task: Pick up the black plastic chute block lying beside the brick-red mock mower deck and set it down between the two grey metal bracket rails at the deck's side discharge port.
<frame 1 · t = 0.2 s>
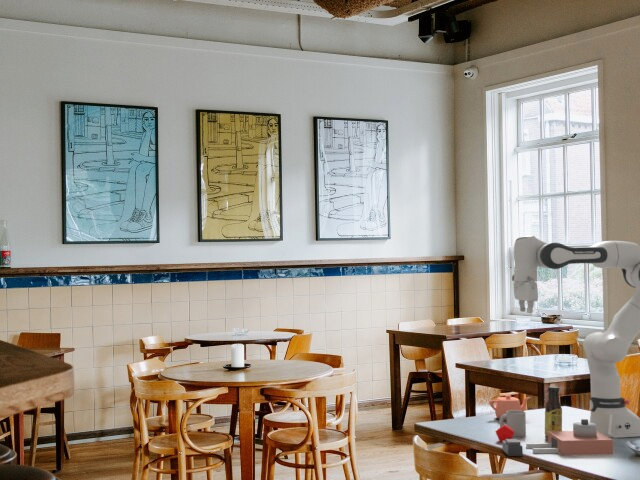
hand: (526, 312, 320), 48 cm above the table, fingers open, 8 cm apart
deck: (579, 449, 292), on the table
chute: (512, 453, 289), on the table
teapot: (510, 419, 351), on the table
sauce bottle: (553, 440, 309), on the table
cup: (512, 435, 319), on the table
red pentagonal block: (505, 442, 307), on the table
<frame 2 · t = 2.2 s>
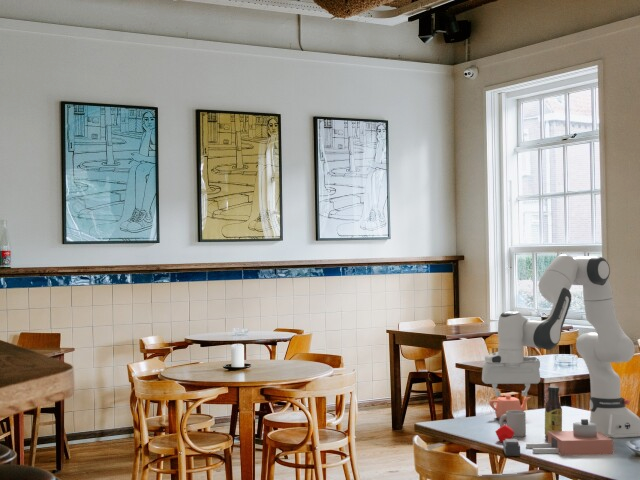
hand: (511, 396, 289), 20 cm above the table, fingers open, 8 cm apart
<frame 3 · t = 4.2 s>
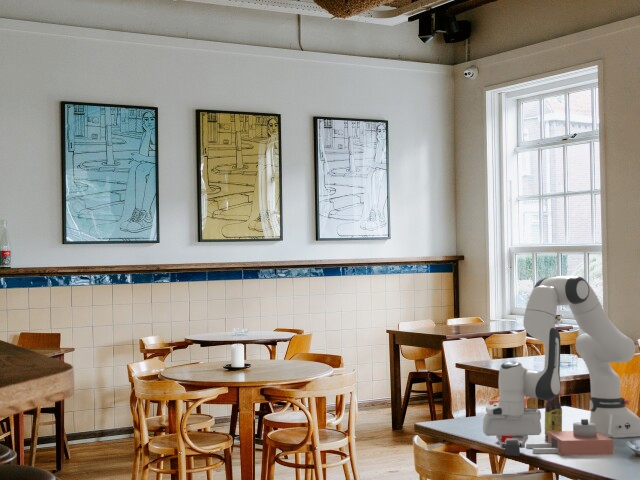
hand: (512, 447, 289), 2 cm above the table, fingers closed on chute, 6 cm apart
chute: (512, 452, 289), on the table, touching gripper
everything else where it was.
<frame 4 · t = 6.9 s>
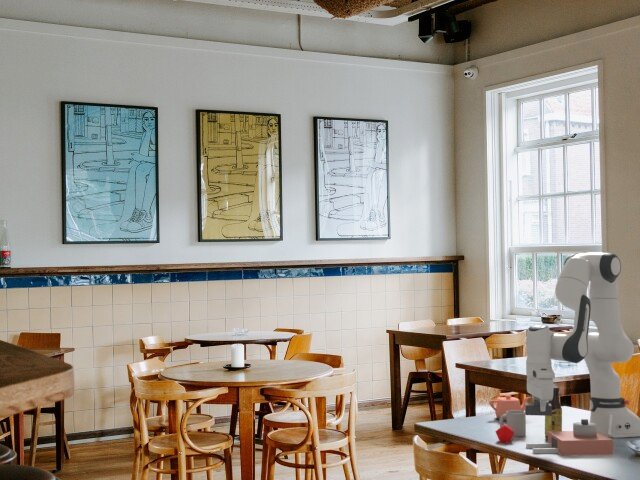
hand: (539, 409, 292), 14 cm above the table, fingers closed on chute, 5 cm apart
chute: (538, 414, 292), point 13 cm above the table, touching gripper
everything else where it was.
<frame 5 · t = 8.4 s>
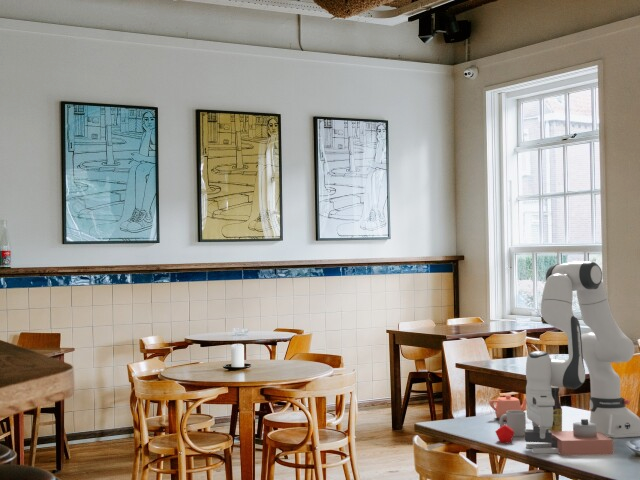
hand: (539, 436, 292), 5 cm above the table, fingers closed on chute, 5 cm apart
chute: (537, 440, 292), point 3 cm above the table, touching gripper
everything else where it was.
when the fingers open (3 cm above the table, at t = 9.4 s): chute drops 1 cm, on the table.
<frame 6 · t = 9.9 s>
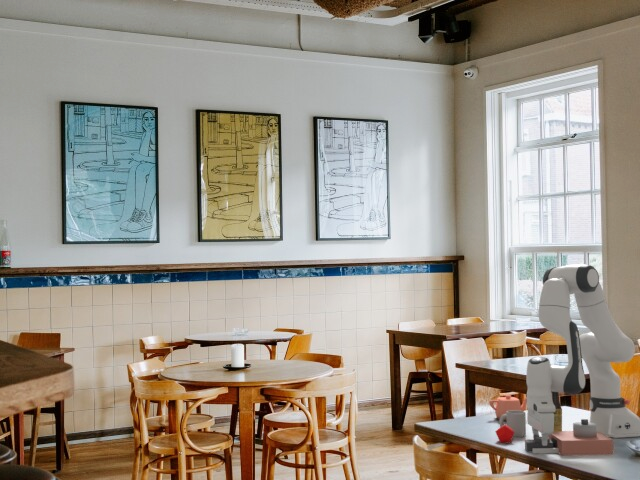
hand: (540, 442, 292), 3 cm above the table, fingers open, 8 cm apart
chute: (538, 450, 292), on the table
everything else where it was.
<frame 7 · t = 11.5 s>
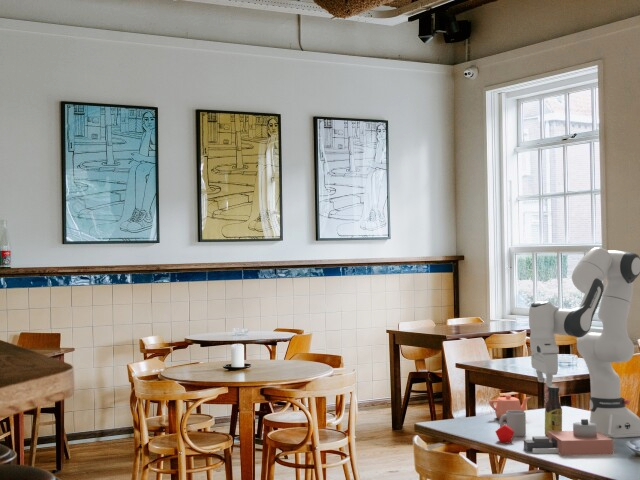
hand: (544, 384, 296), 23 cm above the table, fingers open, 8 cm apart
nothing on the table moved.
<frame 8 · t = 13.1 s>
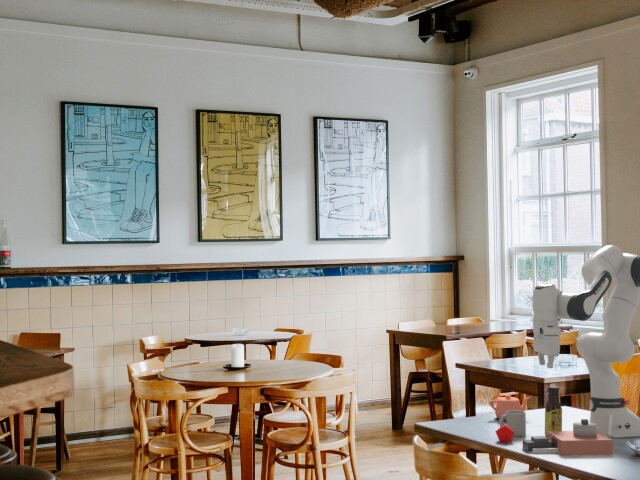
hand: (546, 366, 298), 29 cm above the table, fingers open, 8 cm apart
nothing on the table moved.
at the end: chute inside the target area on the deck (1.0 cm from its centre), point 0.0 cm above the deck's base; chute tilted 0°; the gripper is holding nothing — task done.
